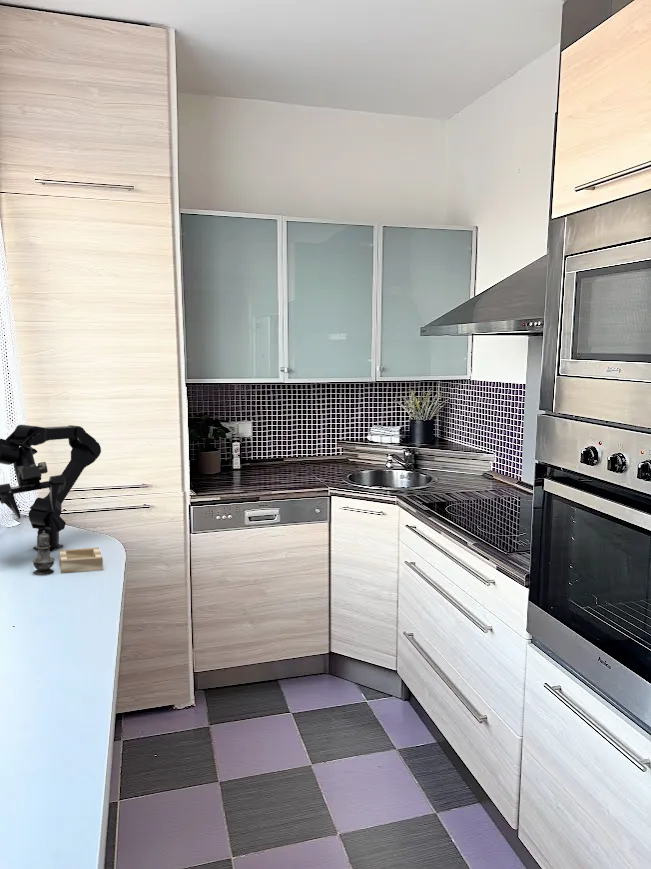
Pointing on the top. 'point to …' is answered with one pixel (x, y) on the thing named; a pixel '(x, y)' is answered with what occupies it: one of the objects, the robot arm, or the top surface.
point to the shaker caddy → (80, 560)
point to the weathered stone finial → (43, 556)
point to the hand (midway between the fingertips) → (37, 514)
